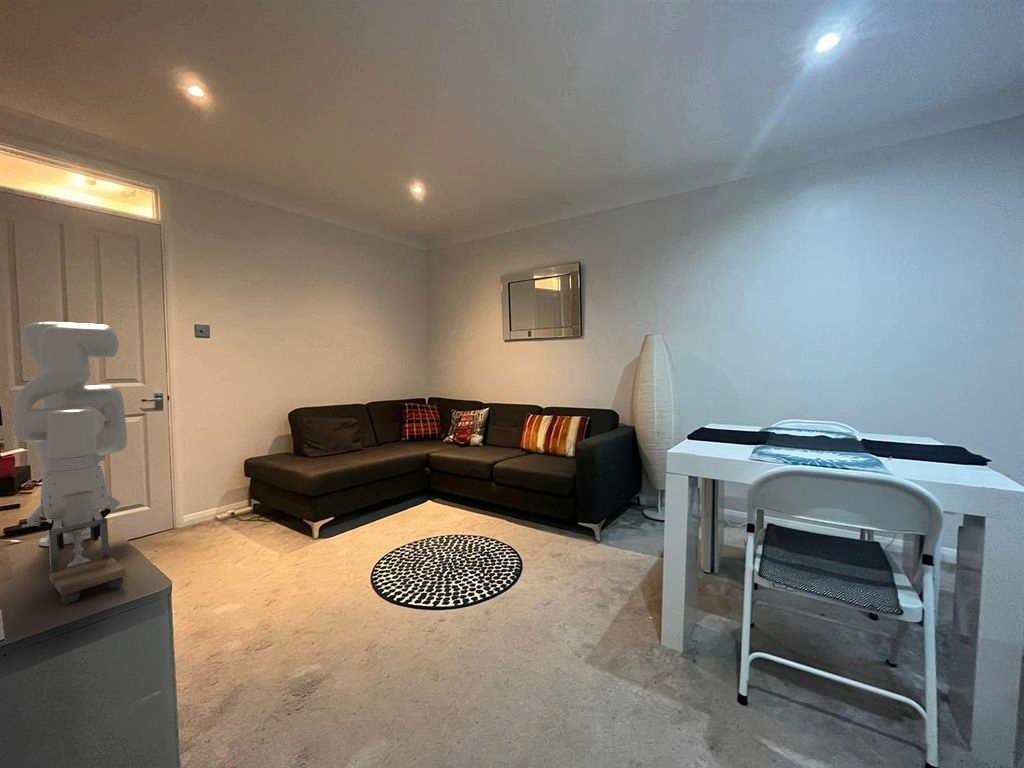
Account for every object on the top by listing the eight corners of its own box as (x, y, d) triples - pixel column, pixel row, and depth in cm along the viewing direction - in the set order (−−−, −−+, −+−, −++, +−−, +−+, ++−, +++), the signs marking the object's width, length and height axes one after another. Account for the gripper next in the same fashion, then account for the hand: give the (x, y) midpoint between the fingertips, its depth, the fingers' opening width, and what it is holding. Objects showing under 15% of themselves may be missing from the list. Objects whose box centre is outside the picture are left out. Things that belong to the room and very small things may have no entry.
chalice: (48, 581, 90) (43, 498, 89) (66, 568, 96) (62, 490, 95) (92, 573, 92) (88, 493, 92) (107, 561, 99) (103, 486, 98)
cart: (50, 590, 85) (46, 530, 85) (110, 572, 93) (107, 517, 92) (62, 608, 78) (59, 542, 78) (126, 587, 86) (123, 527, 85)
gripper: (119, 455, 103) (123, 528, 103) (12, 470, 89) (17, 554, 89) (128, 458, 98) (132, 534, 99) (17, 474, 84) (22, 562, 85)
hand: (77, 542), depth 94 cm, fingers closed on chalice, 4 cm apart
